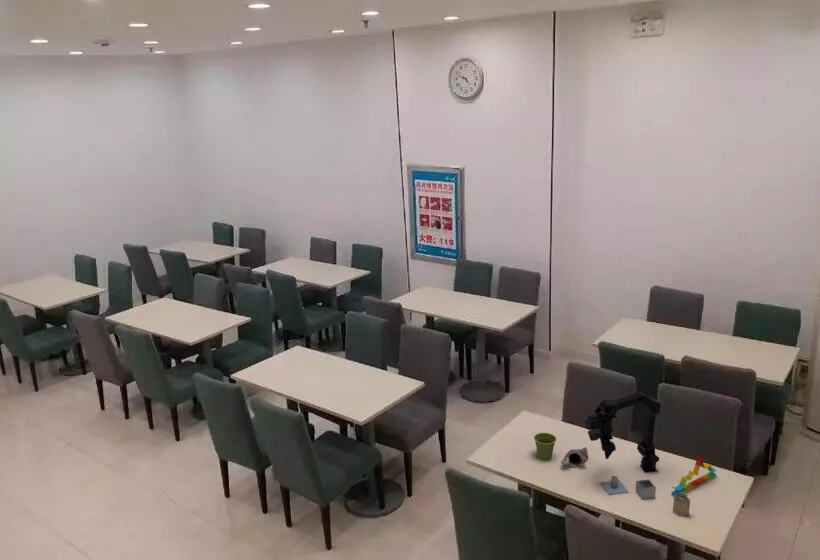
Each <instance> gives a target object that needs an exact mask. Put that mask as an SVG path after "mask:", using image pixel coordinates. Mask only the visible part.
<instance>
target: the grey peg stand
mask: <svg viewBox="0 0 820 560" xmlns="http://www.w3.org/2000/svg"><path fill="white" fill-rule="evenodd" d="M599 483H600V485H601V486H602V488H603V489H604V490H605V492H606V493H607V494H608V496H612V495H622V494H628V493H629V492H630V491H629V490H628V489H627V488H626V486H625V485H624V484H623V483H622V481H621V480H620V479H619V477H618V476H616V475H612V476H611V479H610V480H605V481H600V482H599Z"/></svg>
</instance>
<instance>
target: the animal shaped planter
mask: <svg viewBox="0 0 820 560" xmlns="http://www.w3.org/2000/svg"><path fill="white" fill-rule="evenodd" d="M588 453H589V452H588V448H587V447H586V446H585V447H583V448H580V449H570V450H568V452H567V453H566V455H564V458H563V459H562V460H561V461H560V463H561V465H563V466H565V465H566V466H569V467H572V468H577V467H581V466H582V465H585V463H587V460H588V459H589V454H588Z"/></svg>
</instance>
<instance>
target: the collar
mask: <svg viewBox="0 0 820 560" xmlns="http://www.w3.org/2000/svg"><path fill="white" fill-rule="evenodd" d="M656 489H657V487H656V486H655V485H654V484H653V482H652V481H651V480H650V478H649V479H640V480H636V481H635V493H636V495H638V497H639V498H640V499H641V500H650V499H655V498H656Z"/></svg>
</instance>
